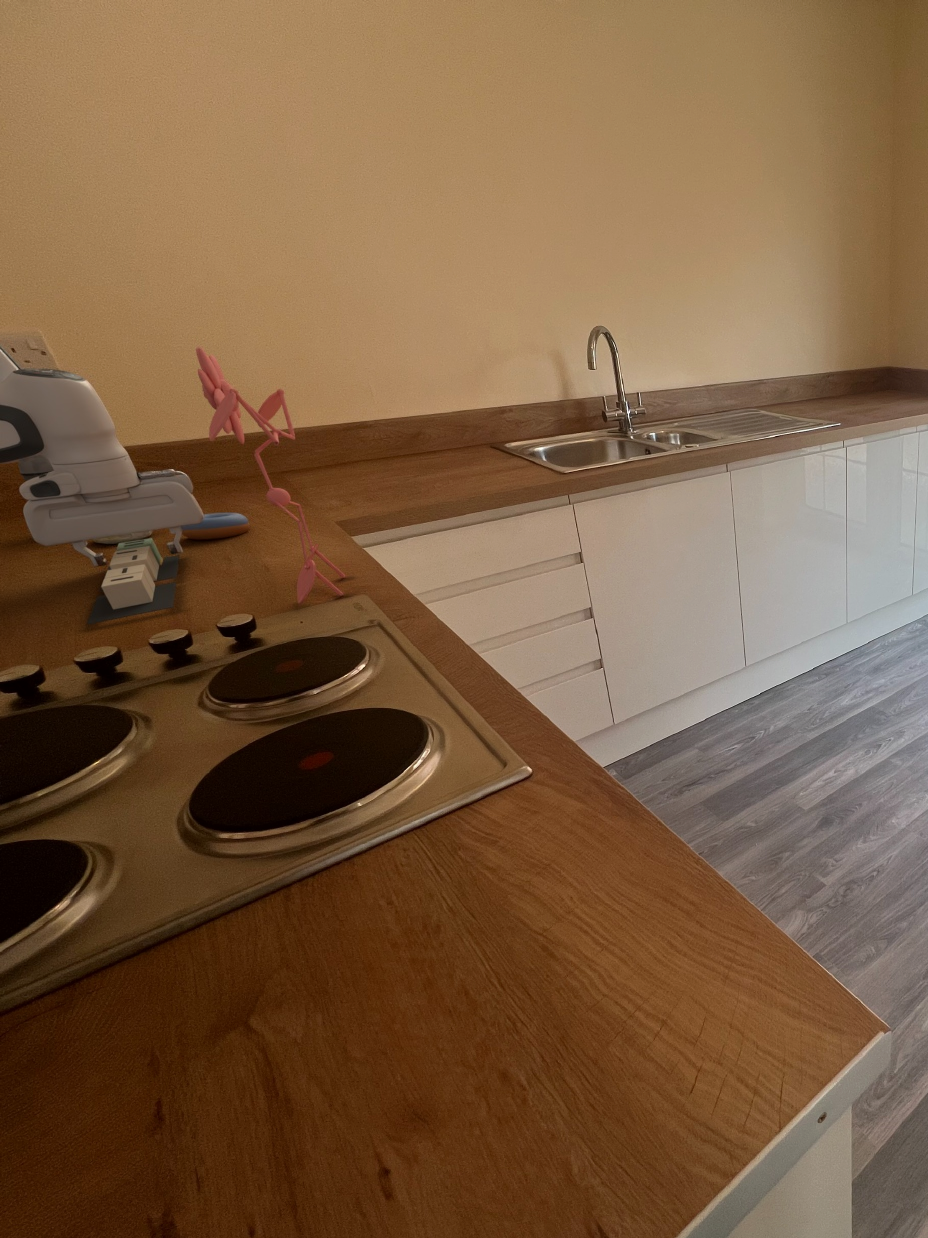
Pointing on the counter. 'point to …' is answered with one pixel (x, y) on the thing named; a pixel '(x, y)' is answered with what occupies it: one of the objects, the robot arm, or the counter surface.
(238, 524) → the doughnut
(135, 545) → the slotted green block
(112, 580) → the white slotted box
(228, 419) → the figurine
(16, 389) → the robot arm
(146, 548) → the off-white marked cube
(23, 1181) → the counter surface
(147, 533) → the bread roll
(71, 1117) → the counter surface
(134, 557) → the slotted cream cube
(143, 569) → the white slotted cube
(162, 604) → the mats
